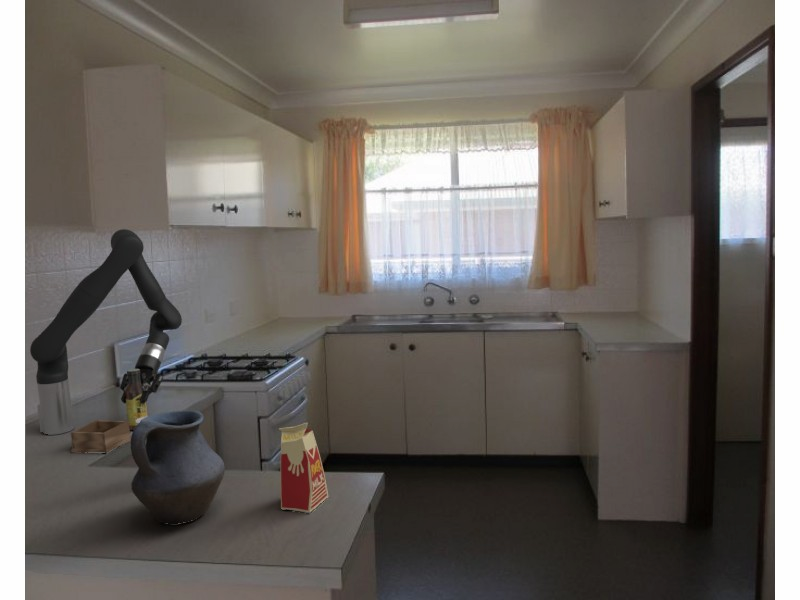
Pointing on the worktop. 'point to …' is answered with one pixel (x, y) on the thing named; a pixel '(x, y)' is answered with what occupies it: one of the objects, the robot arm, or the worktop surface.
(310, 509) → the milk carton
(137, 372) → the sauce bottle
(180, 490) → the pitcher
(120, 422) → the open wooden box
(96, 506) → the worktop surface
